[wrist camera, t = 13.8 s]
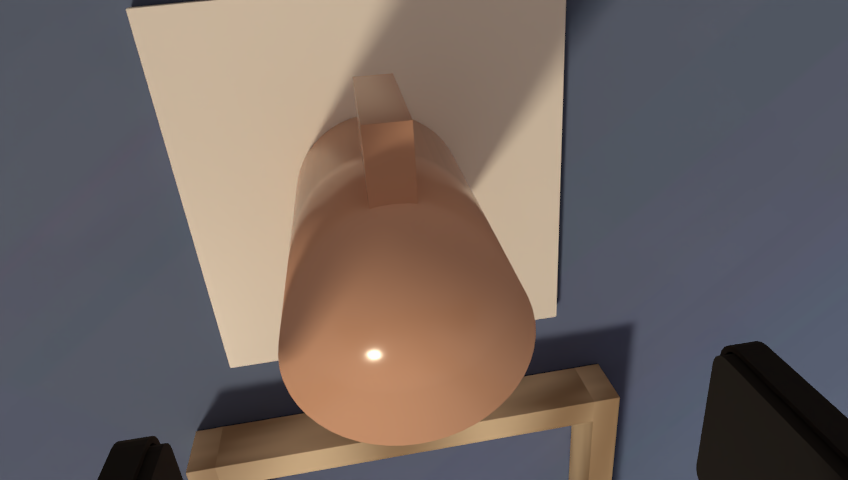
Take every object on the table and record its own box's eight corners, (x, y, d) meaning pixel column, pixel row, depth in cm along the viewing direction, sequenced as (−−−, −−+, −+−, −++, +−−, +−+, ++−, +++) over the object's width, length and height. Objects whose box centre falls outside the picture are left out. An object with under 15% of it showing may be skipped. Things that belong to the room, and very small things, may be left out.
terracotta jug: (462, 254, 21) (531, 427, 14) (309, 272, 20) (300, 461, 13) (456, 47, 17) (545, 134, 10) (273, 62, 17) (235, 164, 10)
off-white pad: (561, -35, 17) (567, -34, 17) (552, 310, 23) (556, 316, 22) (130, 7, 16) (125, 9, 16) (231, 360, 22) (230, 368, 21)
